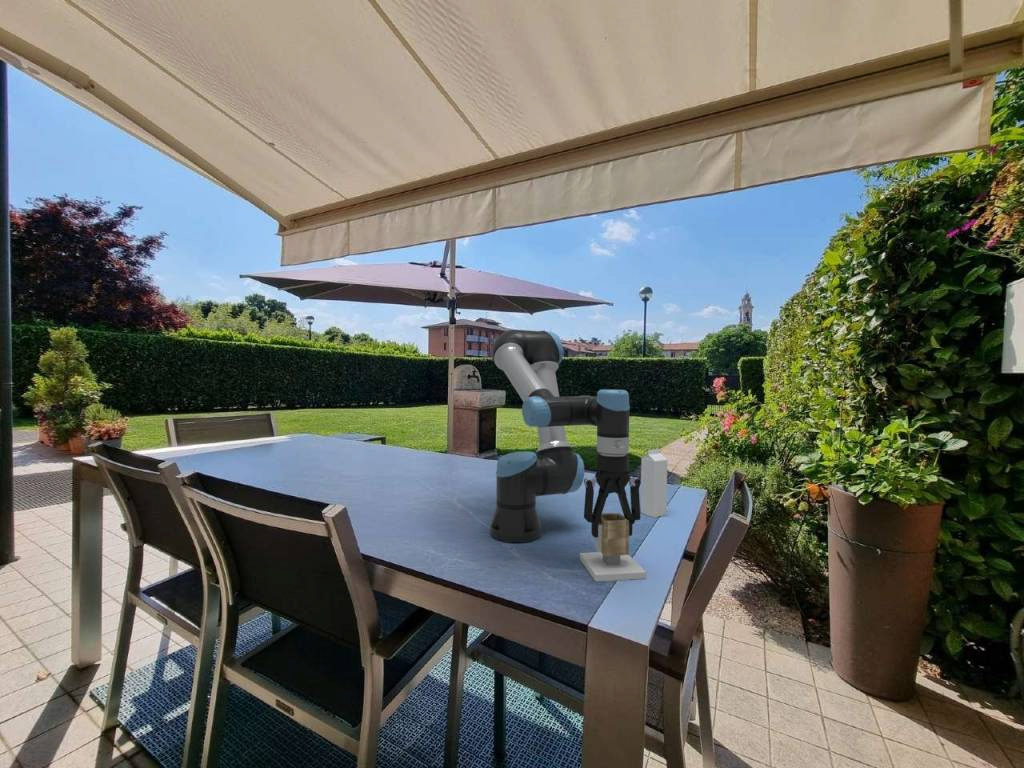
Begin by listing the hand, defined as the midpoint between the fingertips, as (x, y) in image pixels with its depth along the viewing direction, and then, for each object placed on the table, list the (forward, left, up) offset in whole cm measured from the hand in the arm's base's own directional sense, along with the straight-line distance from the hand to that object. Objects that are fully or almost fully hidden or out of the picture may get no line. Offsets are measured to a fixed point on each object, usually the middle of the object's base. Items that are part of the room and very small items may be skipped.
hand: (611, 549), depth 101 cm
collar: (0, 0, 0) cm, 0 cm away
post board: (0, 0, -5) cm, 5 cm away
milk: (+15, +45, -5) cm, 48 cm away
